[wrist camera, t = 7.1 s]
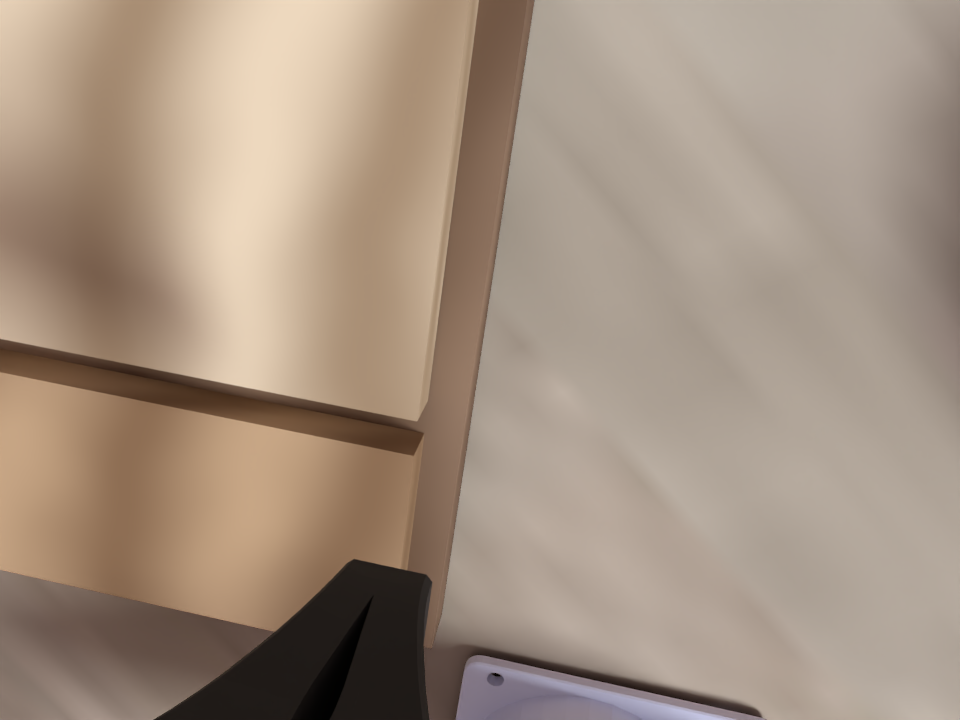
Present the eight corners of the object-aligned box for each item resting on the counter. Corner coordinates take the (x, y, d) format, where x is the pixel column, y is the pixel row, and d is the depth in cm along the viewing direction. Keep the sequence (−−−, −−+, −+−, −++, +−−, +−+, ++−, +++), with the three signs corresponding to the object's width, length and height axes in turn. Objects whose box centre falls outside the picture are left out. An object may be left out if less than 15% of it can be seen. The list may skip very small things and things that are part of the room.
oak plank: (483, -37, 16) (474, -42, 15) (428, 400, 20) (417, 421, 19) (-141, -127, 18) (-191, -139, 17) (-82, 300, 21) (-119, 315, 20)
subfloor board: (553, -129, 17) (543, -157, 14) (441, 614, 25) (422, 679, 22) (-140, -223, 18) (-258, -262, 16) (-36, 509, 26) (-104, 559, 24)
